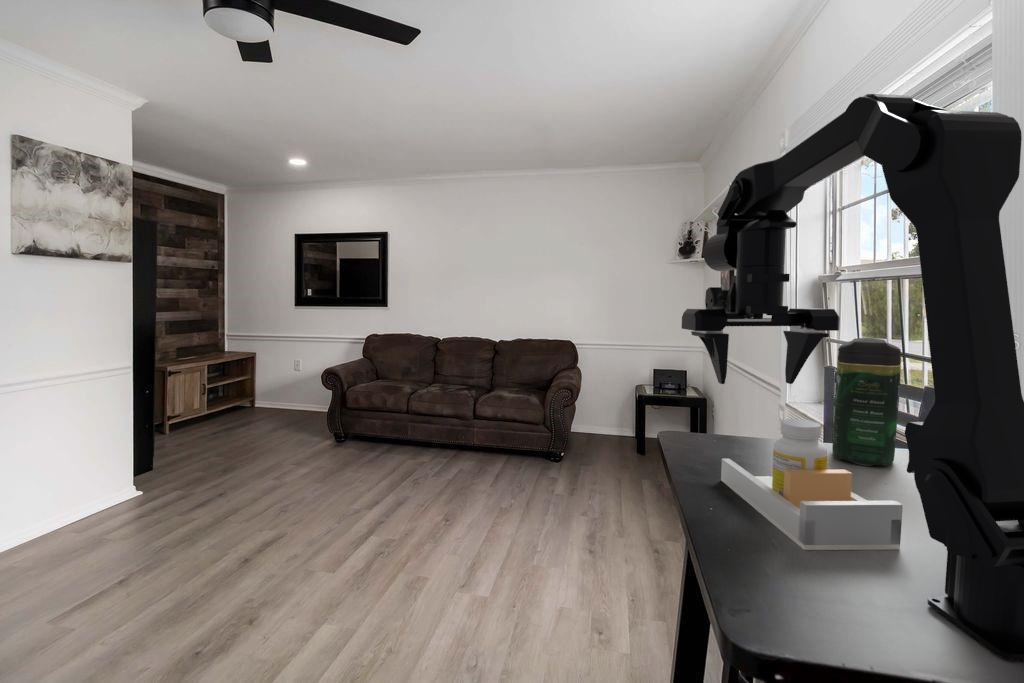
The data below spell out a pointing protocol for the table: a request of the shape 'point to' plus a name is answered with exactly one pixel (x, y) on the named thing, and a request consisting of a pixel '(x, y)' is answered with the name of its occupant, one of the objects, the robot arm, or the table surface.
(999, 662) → the table surface
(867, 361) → the coffee jar
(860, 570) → the table surface
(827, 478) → the pusher
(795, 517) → the lane
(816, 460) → the supplement bottle
